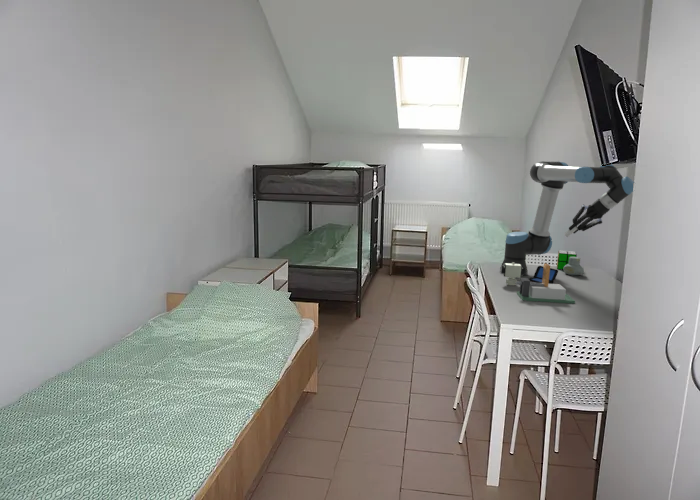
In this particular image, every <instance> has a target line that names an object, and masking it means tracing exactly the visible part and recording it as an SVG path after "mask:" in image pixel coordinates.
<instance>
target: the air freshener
mask: <svg viewBox="0 0 700 500" xmlns="http://www.w3.org/2000/svg"><path fill="white" fill-rule="evenodd" d="M580 264H581V258H580V257H578V256H577V257H569V264H567V265H565V266H564V268H563V270H562V271H563V272H564V273H565V274H566V275H568V276H575V277H576V276H580V275H582V274H583V273H584V271H585V270H584V267H583V266H582V265H580Z"/></svg>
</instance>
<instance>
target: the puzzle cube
mask: <svg viewBox="0 0 700 500" xmlns="http://www.w3.org/2000/svg"><path fill="white" fill-rule="evenodd" d="M569 257H578V255H577V251H572V250H571V251H569V250H560V249H559V250H558V253H557V259H556V270H561V269H563V268H564V266H565V265H567V264H569Z"/></svg>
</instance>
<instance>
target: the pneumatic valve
mask: <svg viewBox="0 0 700 500" xmlns="http://www.w3.org/2000/svg"><path fill="white" fill-rule="evenodd" d="M500 267H501V270H500V269H499V273H500V274H501V275H502V276H503V277H504V278H505V277H506V279H505V283H506V285H507V286H510V287H511V286H512V287H513V286H516V285H517V284H516V281H518V280H517V279H516V278H519V279H521V278H523V276H522V275H524V274H525V267H523V266H522V264H514V262H512V264H510V263H504V265H502V264H501V265H500Z"/></svg>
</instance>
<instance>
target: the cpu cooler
mask: <svg viewBox="0 0 700 500" xmlns="http://www.w3.org/2000/svg"><path fill="white" fill-rule="evenodd" d="M528 278H529V277H522V278H520V282H523V285H519V291H516V295H517V296H518V297H519V298H520V300H521V299H522V300H526V302H538V301H540V302H542V303H543V302H544V303H559V304H561V303H562V304H576V300H575V299H573V298H572V296H570V295H569V294H567V289H566V288H565V287H564V286H562V285H561V284H560V283H559V284H558V283H554V284H548V287H545V286H535V285H530V280H529V279H528ZM522 300H521V301H522Z"/></svg>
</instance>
